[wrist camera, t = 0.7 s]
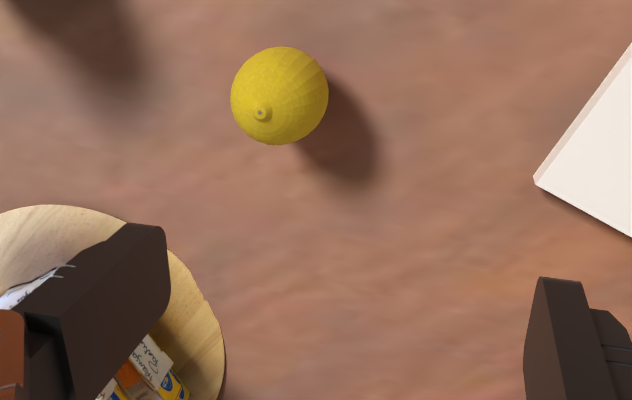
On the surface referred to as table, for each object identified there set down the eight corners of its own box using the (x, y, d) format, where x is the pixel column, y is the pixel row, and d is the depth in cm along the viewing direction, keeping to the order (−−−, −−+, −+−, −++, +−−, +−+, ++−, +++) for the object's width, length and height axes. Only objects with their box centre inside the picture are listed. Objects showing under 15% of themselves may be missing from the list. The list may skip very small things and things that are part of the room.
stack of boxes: (142, 164, 43) (-26, 280, 28) (270, 424, 51) (188, 623, 36) (-84, 240, 52) (-306, 360, 37) (54, 453, 59) (-85, 625, 44)
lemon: (357, 84, 37) (332, 118, 30) (298, 139, 40) (261, 182, 33) (297, 18, 37) (256, 36, 29) (240, 78, 39) (190, 108, 32)
